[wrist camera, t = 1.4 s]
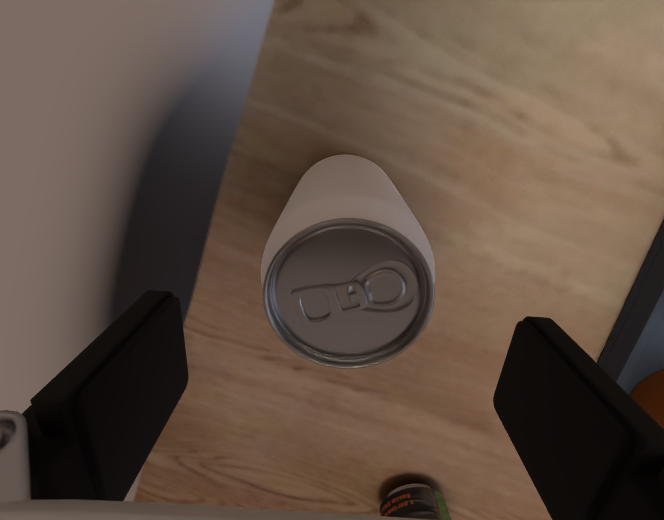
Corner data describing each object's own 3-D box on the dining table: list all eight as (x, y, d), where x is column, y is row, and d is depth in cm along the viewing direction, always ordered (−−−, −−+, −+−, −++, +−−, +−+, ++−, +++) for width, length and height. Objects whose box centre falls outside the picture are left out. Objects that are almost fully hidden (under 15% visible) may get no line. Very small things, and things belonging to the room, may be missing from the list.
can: (405, 238, 23) (462, 357, 12) (311, 262, 24) (287, 394, 13) (383, 139, 21) (429, 177, 10) (279, 170, 22) (216, 237, 11)
